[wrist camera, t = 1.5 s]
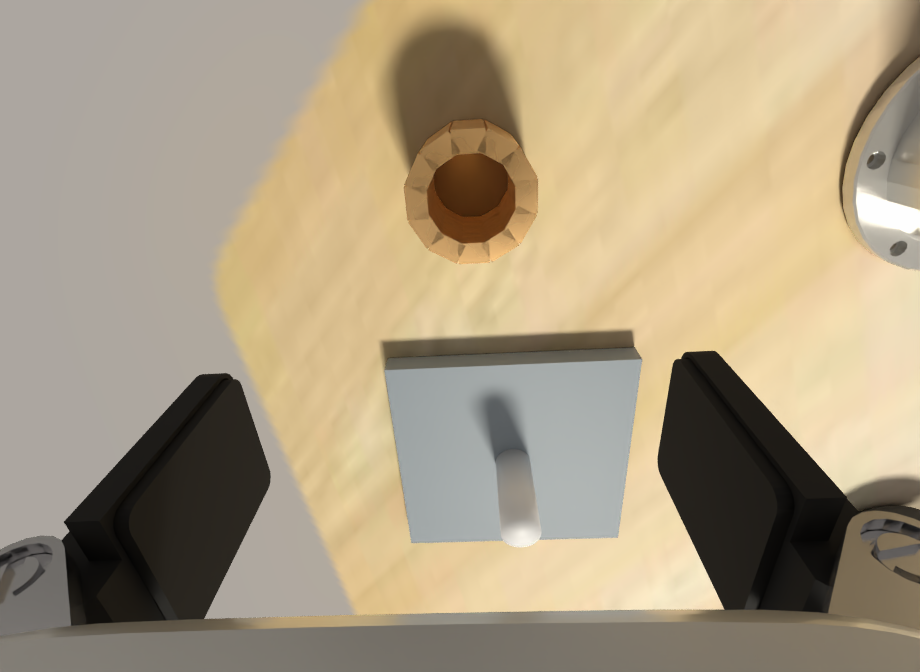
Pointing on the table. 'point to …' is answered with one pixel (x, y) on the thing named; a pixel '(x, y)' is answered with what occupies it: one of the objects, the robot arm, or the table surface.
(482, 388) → the peg stand
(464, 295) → the table surface
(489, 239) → the ring
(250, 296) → the table surface
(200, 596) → the robot arm
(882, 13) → the table surface
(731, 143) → the table surface
